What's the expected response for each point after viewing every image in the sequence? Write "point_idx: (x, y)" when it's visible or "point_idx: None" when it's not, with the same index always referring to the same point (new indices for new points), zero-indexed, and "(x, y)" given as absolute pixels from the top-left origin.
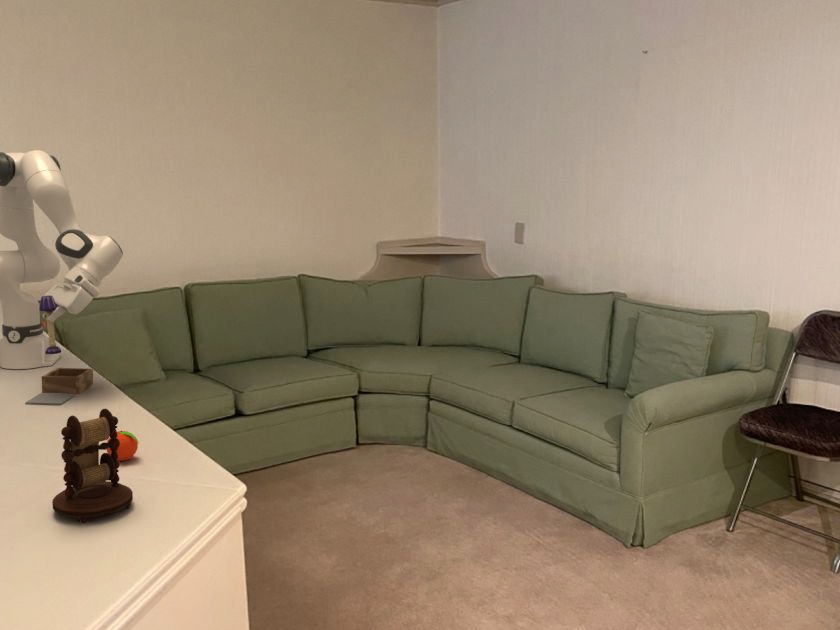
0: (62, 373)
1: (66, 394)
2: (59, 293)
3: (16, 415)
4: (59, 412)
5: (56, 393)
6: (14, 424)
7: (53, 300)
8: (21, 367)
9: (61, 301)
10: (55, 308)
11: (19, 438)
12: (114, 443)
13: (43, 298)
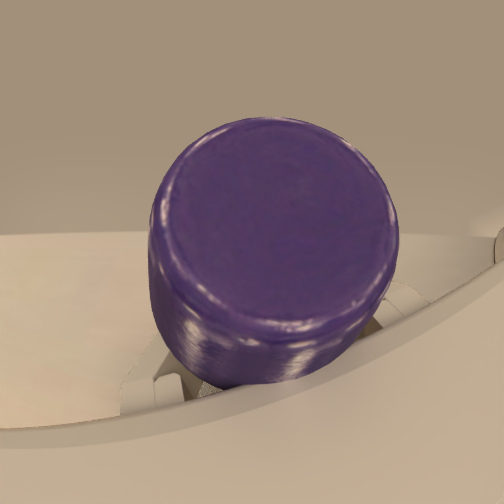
0: None
1: None
2: (499, 459)
3: (125, 248)
4: (111, 338)
5: None
6: (69, 244)
7: (204, 355)
8: (497, 260)
9: (82, 467)
10: (189, 370)
11: (4, 252)
12: None
13: (187, 153)
